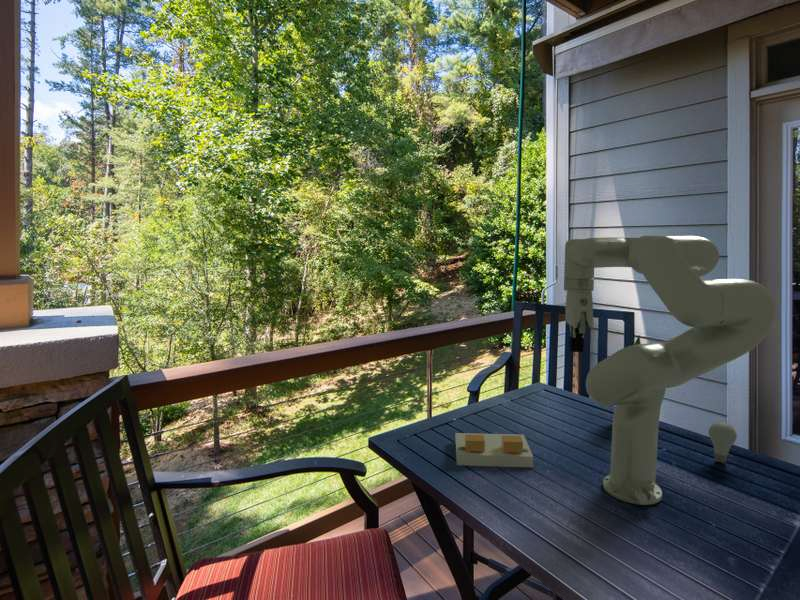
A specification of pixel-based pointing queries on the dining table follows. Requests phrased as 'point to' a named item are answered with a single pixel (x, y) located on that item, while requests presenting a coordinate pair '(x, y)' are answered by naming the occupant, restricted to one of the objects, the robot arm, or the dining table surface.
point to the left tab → (475, 443)
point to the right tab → (512, 444)
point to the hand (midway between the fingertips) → (576, 351)
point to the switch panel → (492, 452)
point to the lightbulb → (722, 439)
